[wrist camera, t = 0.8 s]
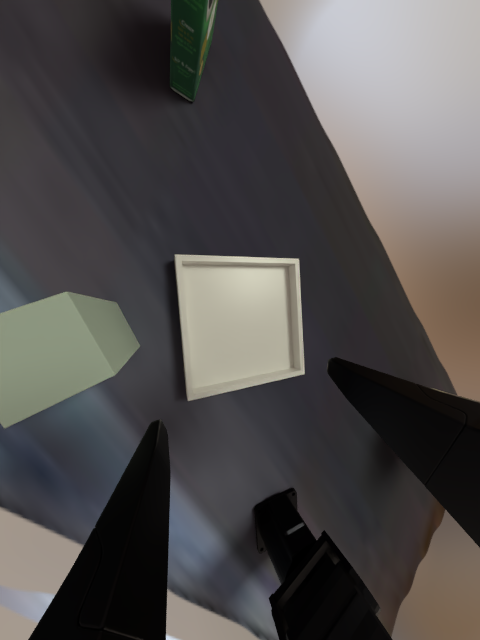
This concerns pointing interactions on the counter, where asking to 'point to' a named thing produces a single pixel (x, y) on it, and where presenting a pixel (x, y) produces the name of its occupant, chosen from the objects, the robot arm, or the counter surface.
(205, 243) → the counter surface
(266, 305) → the tray
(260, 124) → the counter surface
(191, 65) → the coffee box
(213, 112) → the counter surface
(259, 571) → the counter surface
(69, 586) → the robot arm
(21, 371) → the block
